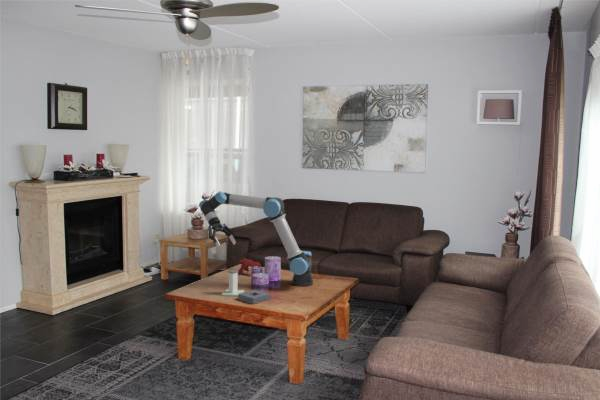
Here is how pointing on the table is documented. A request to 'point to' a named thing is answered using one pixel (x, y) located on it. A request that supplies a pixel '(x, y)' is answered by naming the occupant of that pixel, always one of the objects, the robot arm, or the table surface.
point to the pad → (227, 293)
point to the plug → (233, 281)
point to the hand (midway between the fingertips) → (227, 244)
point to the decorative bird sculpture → (247, 265)
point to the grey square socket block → (254, 296)
